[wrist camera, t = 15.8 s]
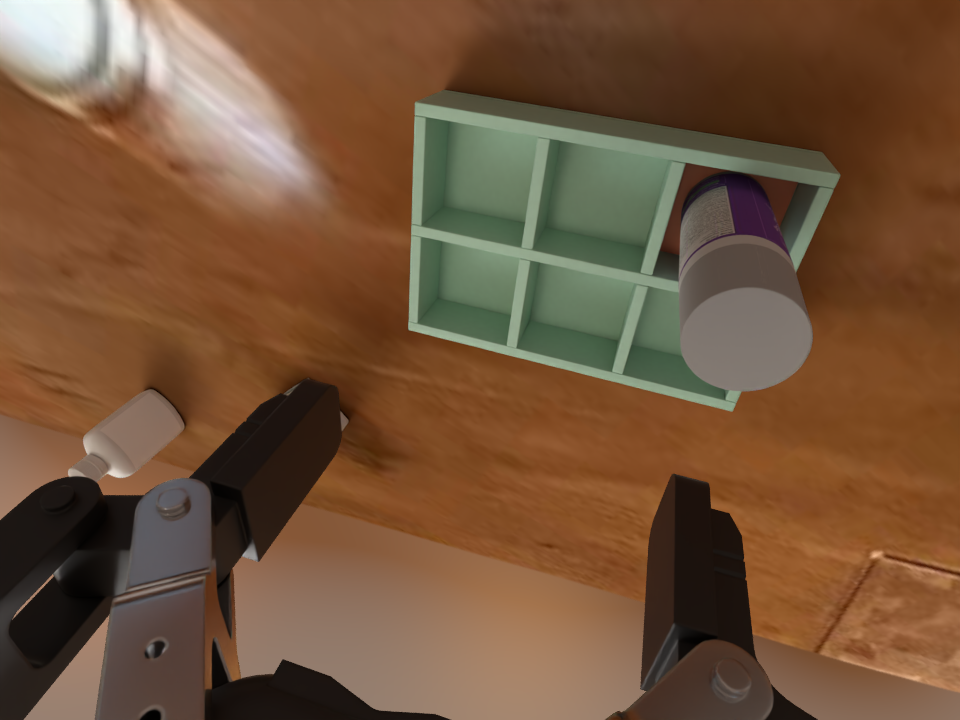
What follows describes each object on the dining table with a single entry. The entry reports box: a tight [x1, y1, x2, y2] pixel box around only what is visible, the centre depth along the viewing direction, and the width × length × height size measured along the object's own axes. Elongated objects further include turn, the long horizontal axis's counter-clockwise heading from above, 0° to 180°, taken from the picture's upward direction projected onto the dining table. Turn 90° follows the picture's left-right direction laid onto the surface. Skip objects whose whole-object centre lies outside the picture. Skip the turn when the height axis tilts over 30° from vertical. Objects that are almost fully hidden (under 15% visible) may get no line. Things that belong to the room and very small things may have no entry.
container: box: [678, 171, 813, 391], centre depth 27 cm, size 5×5×15 cm
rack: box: [408, 90, 840, 411], centre depth 35 cm, size 15×22×5 cm
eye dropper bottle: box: [68, 389, 184, 482], centre depth 55 cm, size 4×6×12 cm
